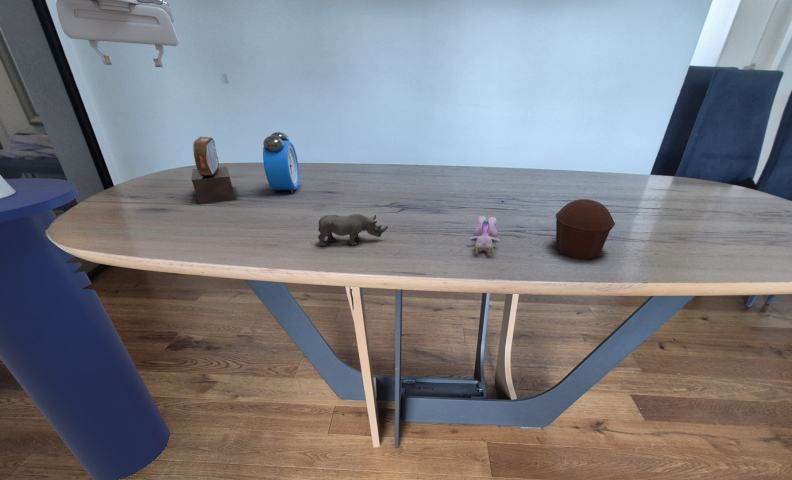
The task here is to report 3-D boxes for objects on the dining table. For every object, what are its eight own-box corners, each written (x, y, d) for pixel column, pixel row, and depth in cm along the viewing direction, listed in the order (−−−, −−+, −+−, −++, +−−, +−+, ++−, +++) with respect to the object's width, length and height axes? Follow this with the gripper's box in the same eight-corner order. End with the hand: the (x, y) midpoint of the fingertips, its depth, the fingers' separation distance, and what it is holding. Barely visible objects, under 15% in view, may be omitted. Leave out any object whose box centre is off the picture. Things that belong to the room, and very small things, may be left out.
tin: (209, 166, 101) (200, 133, 97) (222, 165, 102) (213, 133, 98) (199, 180, 89) (187, 143, 85) (214, 179, 90) (203, 143, 86)
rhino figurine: (389, 244, 75) (387, 216, 72) (317, 248, 72) (312, 218, 69) (388, 236, 78) (386, 209, 75) (320, 239, 75) (315, 211, 73)
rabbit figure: (498, 263, 72) (501, 224, 83) (500, 237, 68) (503, 200, 79) (466, 261, 72) (473, 222, 84) (467, 235, 68) (474, 198, 80)
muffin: (611, 265, 70) (625, 214, 65) (552, 259, 71) (560, 209, 66) (601, 240, 80) (612, 195, 75) (549, 236, 81) (556, 191, 76)
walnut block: (199, 203, 92) (191, 179, 89) (199, 191, 101) (192, 169, 98) (235, 199, 96) (229, 176, 93) (232, 187, 105) (227, 166, 102)
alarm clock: (293, 196, 100) (282, 138, 92) (269, 197, 99) (255, 137, 91) (302, 183, 111) (292, 130, 103) (280, 183, 110) (269, 130, 102)
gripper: (170, 1, 87) (188, 68, 94) (51, -13, 78) (80, 63, 84) (168, -2, 83) (187, 68, 89) (41, -18, 73) (73, 63, 80)
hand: (134, 66), depth 87 cm, fingers open, 8 cm apart
